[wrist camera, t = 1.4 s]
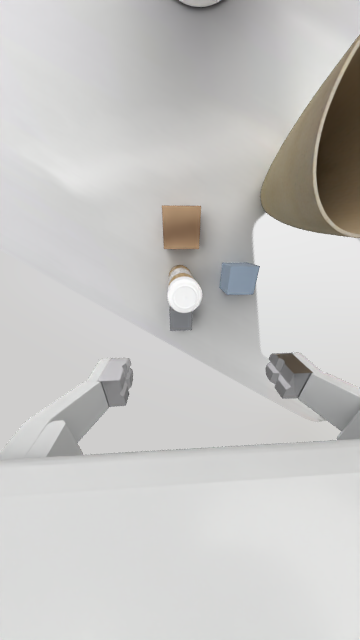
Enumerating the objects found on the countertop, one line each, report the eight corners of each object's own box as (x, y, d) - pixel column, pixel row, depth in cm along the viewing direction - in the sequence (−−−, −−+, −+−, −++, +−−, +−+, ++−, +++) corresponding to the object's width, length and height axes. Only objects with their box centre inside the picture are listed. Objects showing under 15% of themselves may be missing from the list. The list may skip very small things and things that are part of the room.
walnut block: (163, 212, 26) (162, 205, 21) (195, 212, 26) (201, 205, 21) (165, 247, 29) (163, 249, 24) (194, 247, 29) (198, 248, 24)
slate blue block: (222, 262, 30) (231, 266, 26) (246, 262, 31) (259, 266, 26) (219, 287, 33) (226, 294, 28) (242, 287, 33) (253, 294, 28)
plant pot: (346, 124, 22) (650, -81, 8) (308, 239, 29) (437, 237, 15) (245, 122, 22) (384, -100, 8) (231, 240, 29) (289, 239, 14)
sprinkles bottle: (179, 291, 33) (183, 320, 21) (163, 275, 31) (159, 297, 19) (195, 276, 31) (210, 298, 19) (180, 259, 30) (186, 271, 18)
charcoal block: (169, 302, 34) (169, 310, 30) (189, 302, 34) (192, 310, 30) (170, 320, 36) (170, 330, 32) (189, 320, 36) (191, 330, 32)
